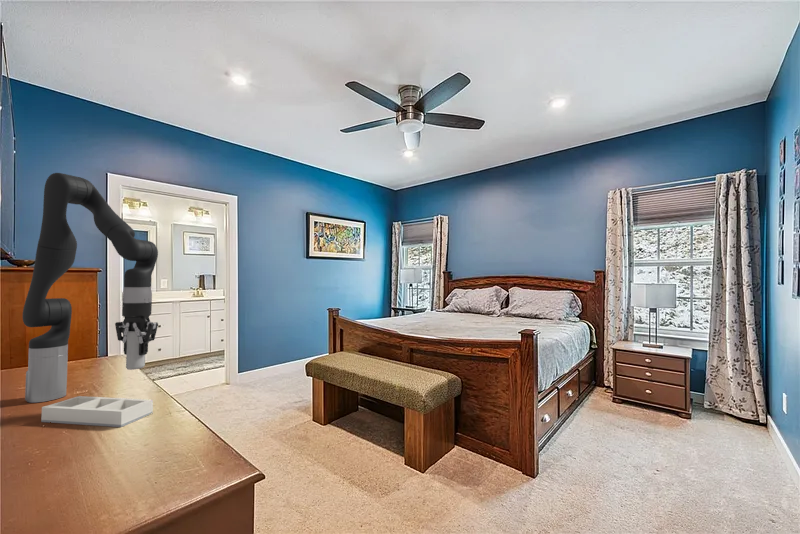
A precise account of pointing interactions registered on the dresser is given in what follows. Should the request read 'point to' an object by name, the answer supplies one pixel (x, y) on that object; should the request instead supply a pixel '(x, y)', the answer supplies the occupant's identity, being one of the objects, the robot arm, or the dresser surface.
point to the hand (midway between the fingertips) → (135, 354)
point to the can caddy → (97, 411)
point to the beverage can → (134, 352)
